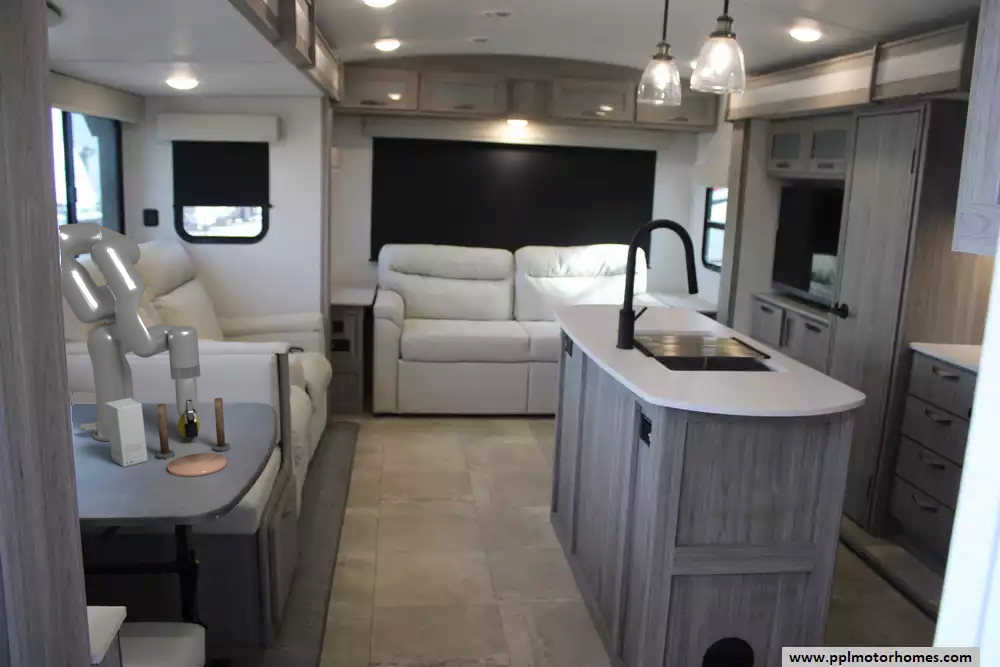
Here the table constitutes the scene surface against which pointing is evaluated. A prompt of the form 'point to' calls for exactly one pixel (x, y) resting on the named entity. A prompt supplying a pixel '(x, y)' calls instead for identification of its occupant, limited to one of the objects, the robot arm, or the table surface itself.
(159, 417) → the left dowel
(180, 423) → the lemon
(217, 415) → the right dowel
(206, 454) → the plate
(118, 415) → the skincare box
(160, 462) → the table surface
